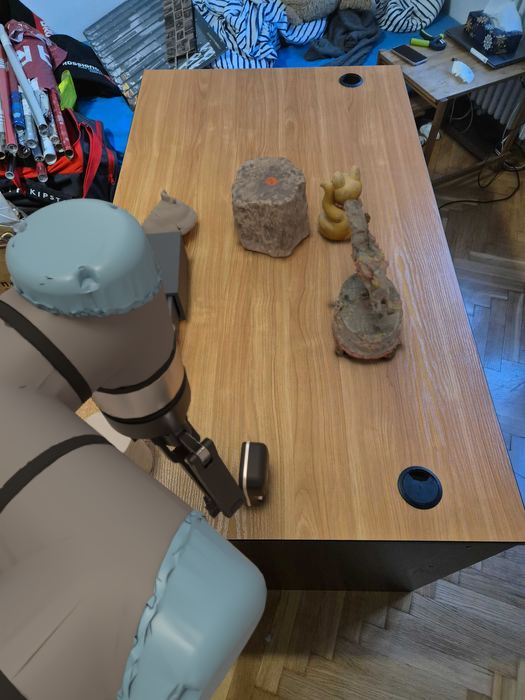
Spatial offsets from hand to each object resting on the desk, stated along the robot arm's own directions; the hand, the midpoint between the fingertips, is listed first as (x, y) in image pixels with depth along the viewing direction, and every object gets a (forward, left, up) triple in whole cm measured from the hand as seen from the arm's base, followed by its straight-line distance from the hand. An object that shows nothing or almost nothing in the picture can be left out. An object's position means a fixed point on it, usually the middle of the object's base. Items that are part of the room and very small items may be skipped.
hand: (179, 468), depth 55 cm
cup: (-13, +8, -20) cm, 25 cm away
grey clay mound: (-8, +61, -20) cm, 65 cm away
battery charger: (+8, +3, -20) cm, 22 cm away
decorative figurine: (+29, +57, -20) cm, 67 cm away
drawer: (-11, +29, -19) cm, 36 cm away
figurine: (+30, +33, -20) cm, 49 cm away
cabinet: (-11, +44, -20) cm, 49 cm away
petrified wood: (+14, +60, -20) cm, 65 cm away
